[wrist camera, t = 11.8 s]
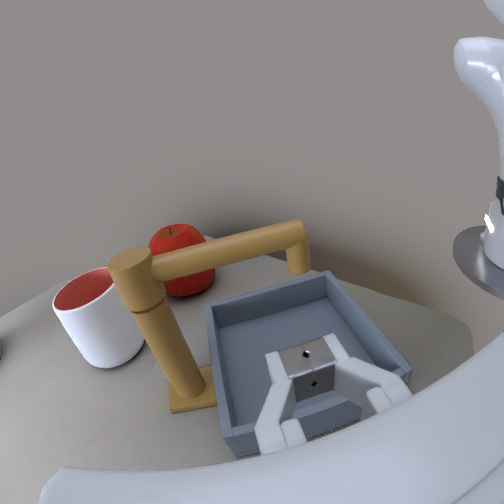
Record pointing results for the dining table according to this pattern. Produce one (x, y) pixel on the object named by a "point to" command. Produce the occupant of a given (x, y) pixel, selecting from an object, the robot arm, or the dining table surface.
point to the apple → (175, 240)
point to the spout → (203, 260)
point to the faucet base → (176, 359)
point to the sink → (281, 337)
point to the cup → (98, 319)
